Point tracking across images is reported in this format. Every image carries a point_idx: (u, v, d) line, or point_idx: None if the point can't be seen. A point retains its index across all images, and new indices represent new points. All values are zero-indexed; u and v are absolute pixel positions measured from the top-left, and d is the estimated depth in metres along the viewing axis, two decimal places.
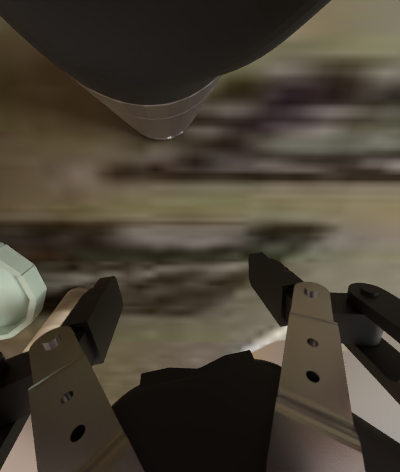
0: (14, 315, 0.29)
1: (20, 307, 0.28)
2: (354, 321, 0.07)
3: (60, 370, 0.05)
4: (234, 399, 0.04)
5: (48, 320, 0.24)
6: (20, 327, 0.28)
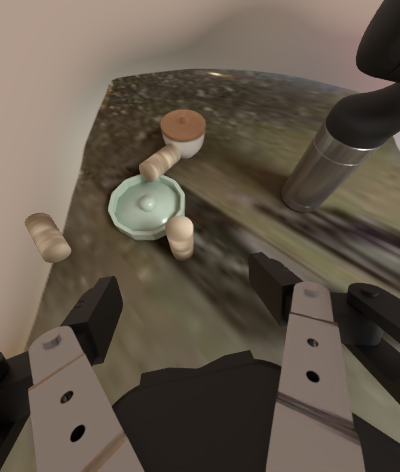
0: (143, 229, 0.40)
1: (152, 227, 0.40)
2: (354, 321, 0.07)
3: (60, 370, 0.05)
4: (234, 399, 0.04)
5: None
6: (144, 232, 0.38)
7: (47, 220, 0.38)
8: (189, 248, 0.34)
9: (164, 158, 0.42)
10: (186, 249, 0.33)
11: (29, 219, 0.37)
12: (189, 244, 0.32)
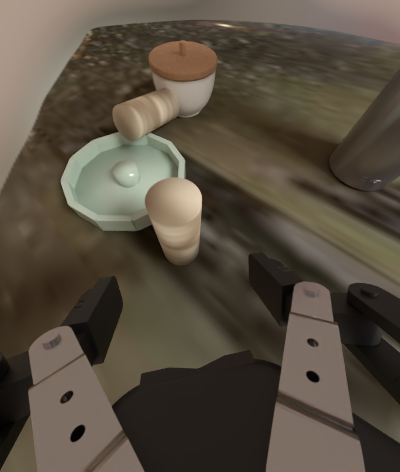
0: (117, 213, 0.25)
1: (132, 211, 0.25)
2: (354, 321, 0.07)
3: (60, 370, 0.05)
4: (234, 399, 0.04)
5: None
6: (116, 218, 0.22)
7: None
8: (193, 243, 0.18)
9: (153, 104, 0.26)
10: (187, 244, 0.18)
11: None
12: (193, 235, 0.17)
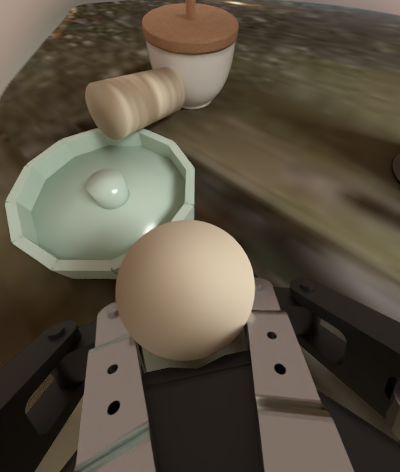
0: (93, 252, 0.16)
1: (115, 248, 0.16)
2: (292, 313, 0.07)
3: (113, 342, 0.05)
4: (234, 399, 0.04)
5: None
6: (87, 265, 0.14)
7: None
8: None
9: (148, 85, 0.18)
10: None
11: None
12: None
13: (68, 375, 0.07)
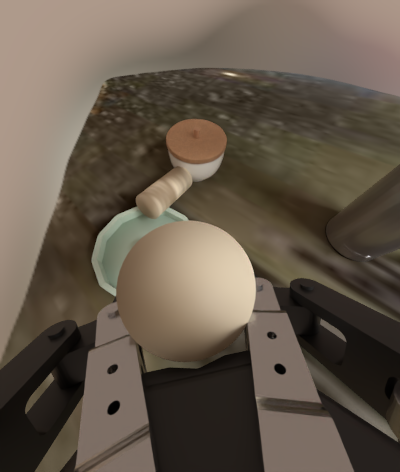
0: None
1: None
2: (292, 313, 0.07)
3: (113, 342, 0.05)
4: (234, 399, 0.04)
5: None
6: None
7: None
8: None
9: (171, 187, 0.30)
10: None
11: None
12: None
13: (68, 375, 0.07)
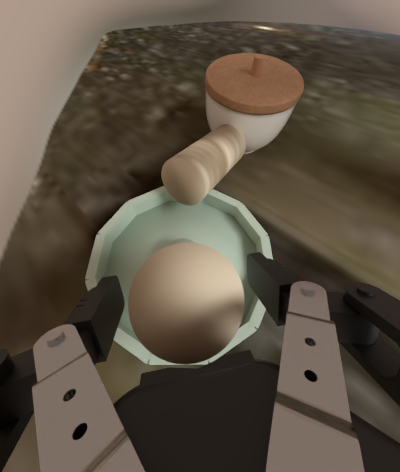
0: None
1: None
2: (350, 320, 0.07)
3: (63, 368, 0.05)
4: (234, 399, 0.04)
5: None
6: None
7: None
8: None
9: (221, 151, 0.17)
10: None
11: None
12: None
13: (2, 411, 0.06)
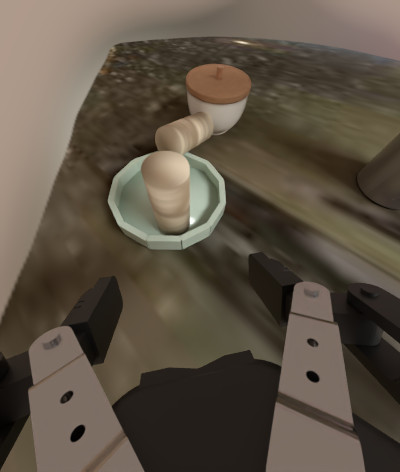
0: None
1: None
2: (354, 321, 0.07)
3: (60, 370, 0.05)
4: (234, 399, 0.04)
5: None
6: (166, 238, 0.23)
7: None
8: (183, 212, 0.21)
9: (193, 126, 0.28)
10: (178, 211, 0.20)
11: None
12: (183, 202, 0.20)
13: None
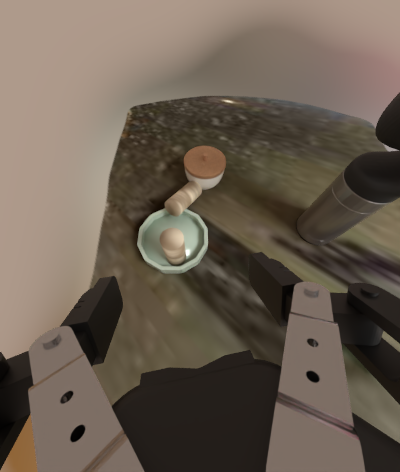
0: None
1: None
2: (354, 321, 0.07)
3: (60, 370, 0.05)
4: (234, 399, 0.04)
5: None
6: (172, 268, 0.40)
7: None
8: (181, 255, 0.38)
9: (188, 195, 0.45)
10: (178, 256, 0.37)
11: None
12: (181, 252, 0.37)
13: None
